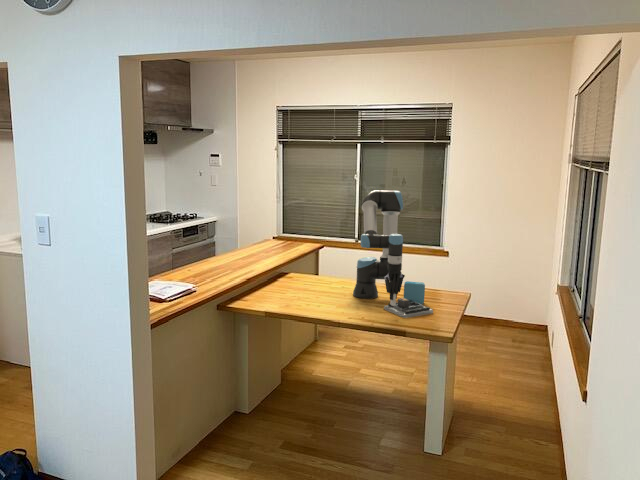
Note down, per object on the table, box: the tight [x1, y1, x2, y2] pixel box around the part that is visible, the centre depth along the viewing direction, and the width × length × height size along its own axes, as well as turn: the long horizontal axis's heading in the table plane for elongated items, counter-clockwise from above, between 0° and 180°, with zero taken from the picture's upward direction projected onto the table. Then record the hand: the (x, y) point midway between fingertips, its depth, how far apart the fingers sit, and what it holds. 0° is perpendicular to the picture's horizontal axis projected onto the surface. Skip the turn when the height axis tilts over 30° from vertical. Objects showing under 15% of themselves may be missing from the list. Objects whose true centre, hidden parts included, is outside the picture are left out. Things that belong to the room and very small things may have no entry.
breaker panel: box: [383, 300, 434, 319], centre depth 296 cm, size 18×20×4 cm
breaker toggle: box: [397, 297, 409, 308], centre depth 294 cm, size 5×4×5 cm
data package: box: [402, 281, 426, 305], centre depth 313 cm, size 12×4×12 cm, turn 79°
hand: (392, 305), depth 290 cm, fingers closed
